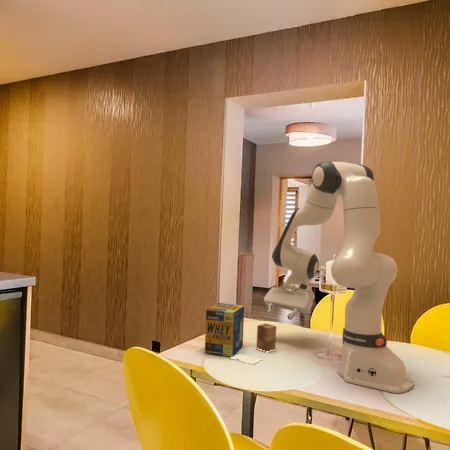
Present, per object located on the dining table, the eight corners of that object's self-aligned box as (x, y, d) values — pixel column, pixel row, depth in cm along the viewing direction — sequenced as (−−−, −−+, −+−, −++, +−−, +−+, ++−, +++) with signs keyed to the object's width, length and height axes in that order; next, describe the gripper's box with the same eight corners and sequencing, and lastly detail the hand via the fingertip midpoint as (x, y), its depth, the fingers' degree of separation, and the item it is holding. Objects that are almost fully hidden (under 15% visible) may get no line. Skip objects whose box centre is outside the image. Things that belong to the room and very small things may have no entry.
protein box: (204, 353, 145) (205, 309, 146) (217, 342, 160) (218, 302, 160) (232, 357, 142) (233, 312, 143) (243, 345, 157) (244, 304, 157)
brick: (275, 350, 154) (276, 326, 154) (267, 352, 150) (268, 328, 150) (264, 347, 157) (265, 323, 157) (256, 349, 153) (257, 325, 153)
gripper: (270, 280, 172) (254, 306, 165) (313, 287, 158) (298, 316, 151) (276, 290, 175) (261, 316, 168) (318, 297, 161) (304, 326, 154)
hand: (279, 316), depth 159 cm, fingers open, 8 cm apart
